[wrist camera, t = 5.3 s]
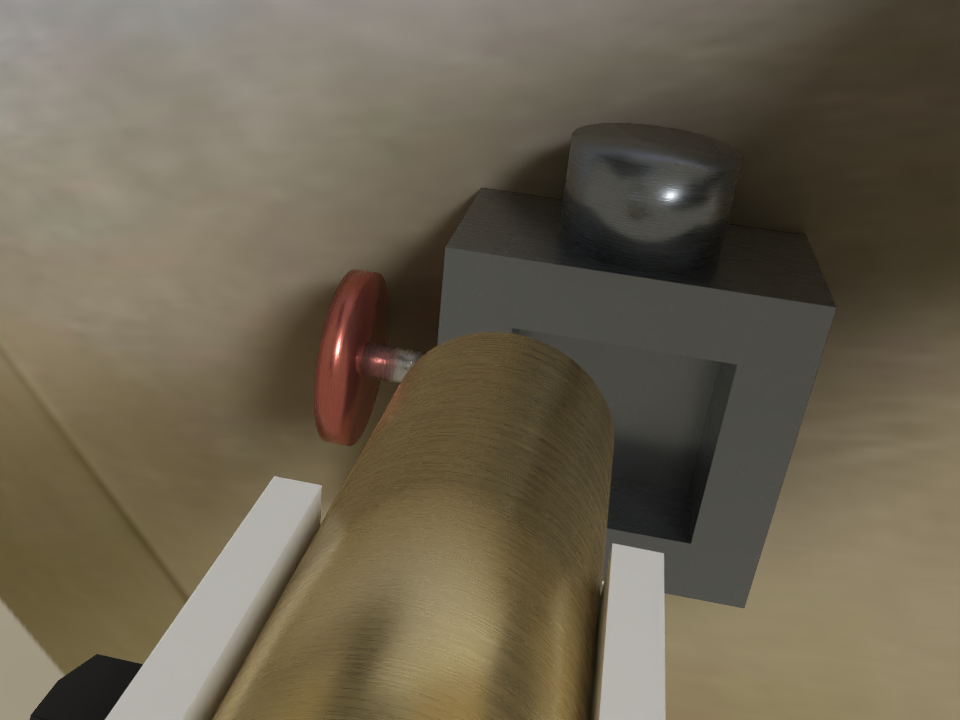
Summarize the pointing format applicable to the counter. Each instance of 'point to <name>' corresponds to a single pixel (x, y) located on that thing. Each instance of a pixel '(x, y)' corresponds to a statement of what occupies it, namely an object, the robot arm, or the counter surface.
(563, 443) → the fitting
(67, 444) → the counter surface
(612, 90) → the counter surface
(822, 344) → the valve body
